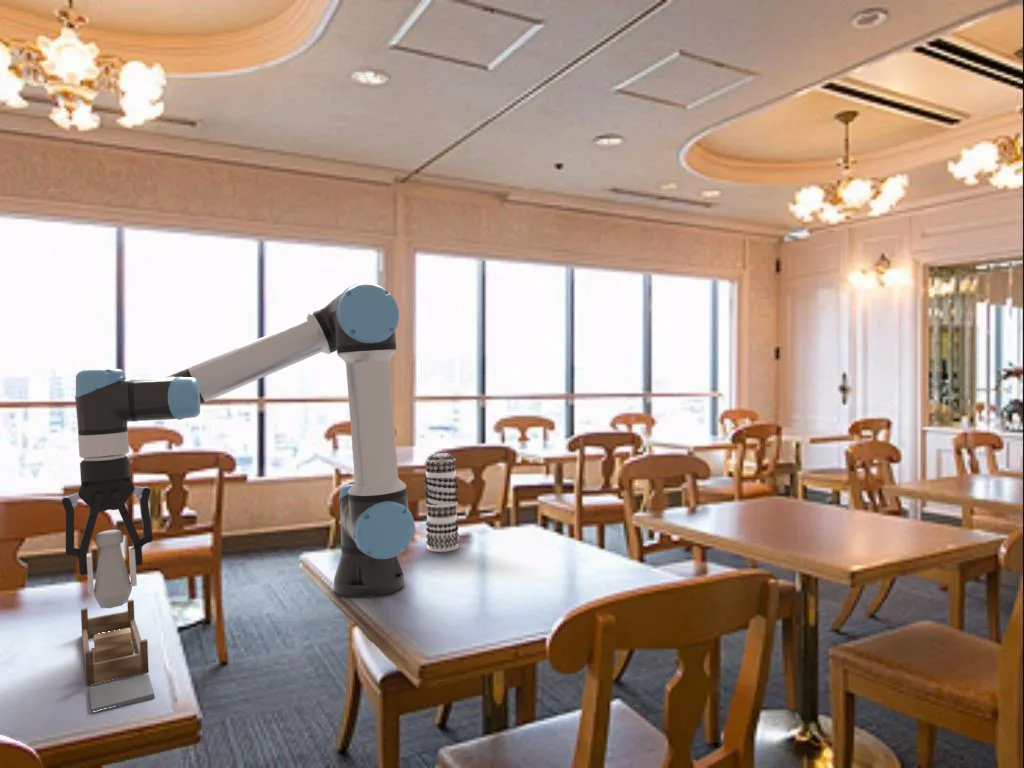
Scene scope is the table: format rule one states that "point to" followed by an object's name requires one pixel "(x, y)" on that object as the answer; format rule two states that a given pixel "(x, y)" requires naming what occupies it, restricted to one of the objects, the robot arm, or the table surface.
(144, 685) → the coaster
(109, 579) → the salt shaker
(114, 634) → the offcut
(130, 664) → the open rectangular wooden frame
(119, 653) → the offcut
